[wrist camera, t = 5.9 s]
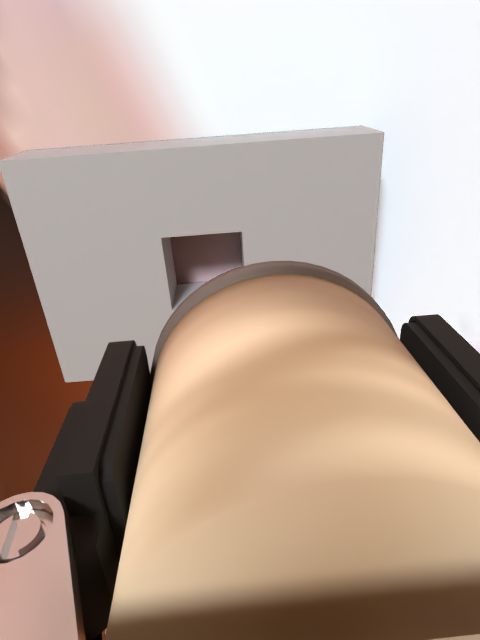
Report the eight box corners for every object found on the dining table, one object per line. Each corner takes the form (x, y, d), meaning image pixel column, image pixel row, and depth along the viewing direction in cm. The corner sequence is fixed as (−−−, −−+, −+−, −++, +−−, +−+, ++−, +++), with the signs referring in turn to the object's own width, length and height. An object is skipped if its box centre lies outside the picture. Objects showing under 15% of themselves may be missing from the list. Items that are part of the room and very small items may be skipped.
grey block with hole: (362, 125, 27) (384, 132, 23) (349, 328, 33) (365, 358, 30) (26, 150, 26) (-3, 161, 23) (81, 350, 33) (65, 382, 30)
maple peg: (362, 214, 12) (655, 443, 4) (351, 388, 15) (518, 731, 7) (150, 231, 12) (36, 503, 4) (176, 403, 15) (140, 775, 7)
